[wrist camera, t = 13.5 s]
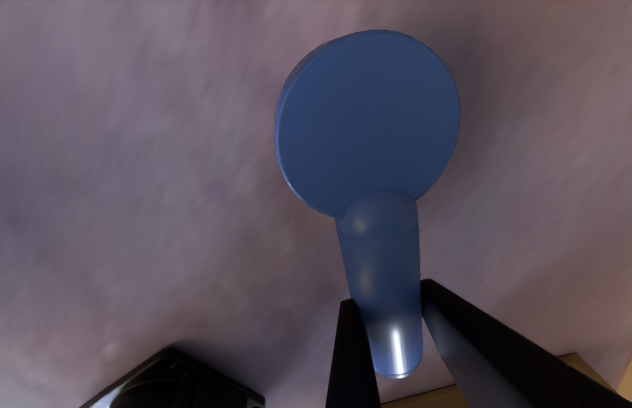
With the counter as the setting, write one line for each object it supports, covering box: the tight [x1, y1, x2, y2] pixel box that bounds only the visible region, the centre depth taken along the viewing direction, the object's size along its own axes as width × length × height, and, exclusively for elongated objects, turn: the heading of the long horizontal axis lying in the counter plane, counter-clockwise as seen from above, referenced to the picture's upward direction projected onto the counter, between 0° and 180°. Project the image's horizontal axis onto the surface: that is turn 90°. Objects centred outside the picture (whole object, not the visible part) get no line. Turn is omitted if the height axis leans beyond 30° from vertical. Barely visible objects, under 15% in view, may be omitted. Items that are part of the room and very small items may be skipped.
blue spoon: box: [275, 30, 460, 379], centre depth 7 cm, size 10×4×2 cm, turn 12°
